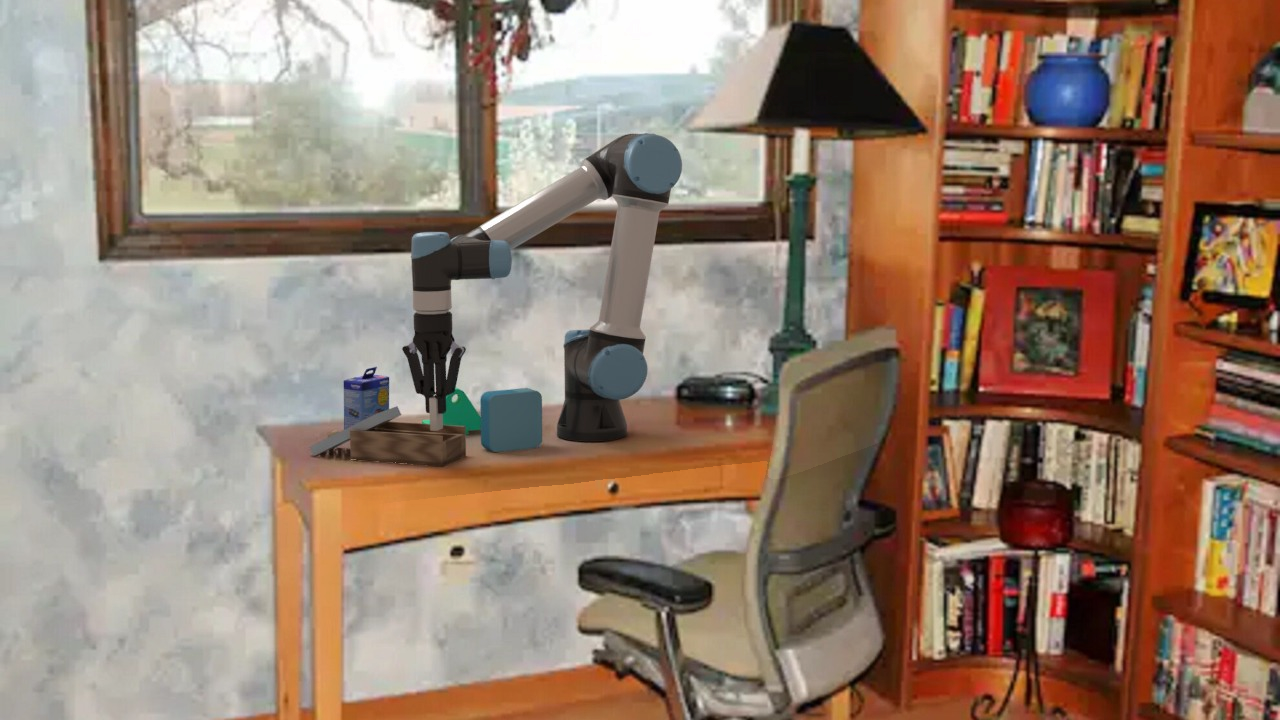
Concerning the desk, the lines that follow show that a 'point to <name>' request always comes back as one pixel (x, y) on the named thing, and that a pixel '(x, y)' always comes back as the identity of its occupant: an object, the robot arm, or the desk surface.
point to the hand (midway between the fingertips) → (436, 429)
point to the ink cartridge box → (365, 397)
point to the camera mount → (460, 412)
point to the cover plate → (342, 437)
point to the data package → (511, 419)
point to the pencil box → (409, 444)
